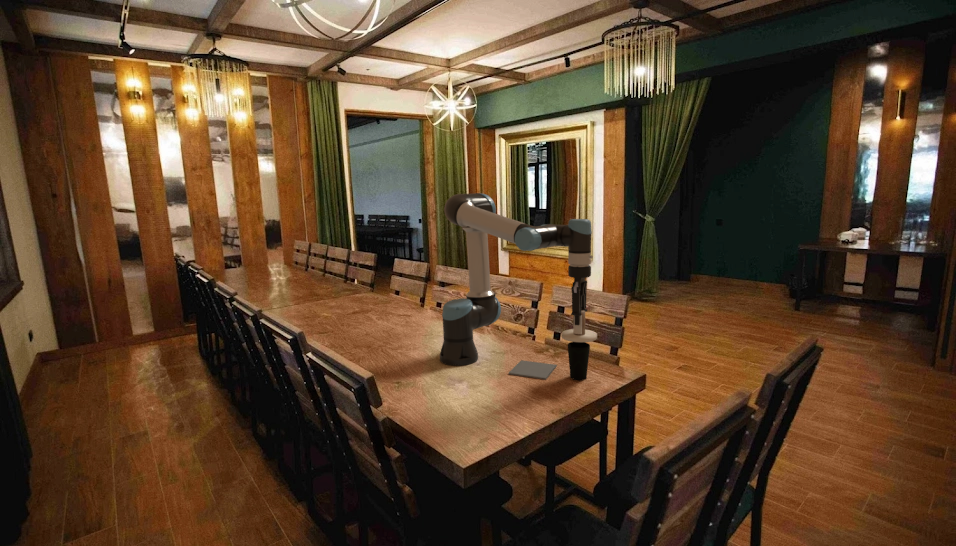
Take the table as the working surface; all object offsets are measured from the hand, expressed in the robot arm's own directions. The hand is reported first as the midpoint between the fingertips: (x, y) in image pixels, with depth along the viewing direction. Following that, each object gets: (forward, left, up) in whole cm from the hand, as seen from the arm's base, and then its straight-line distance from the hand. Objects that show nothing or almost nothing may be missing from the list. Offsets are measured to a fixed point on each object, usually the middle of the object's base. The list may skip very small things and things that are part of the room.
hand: (579, 331), depth 166 cm
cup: (0, 0, -17) cm, 17 cm away
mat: (-17, +1, -17) cm, 24 cm away
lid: (0, 0, -2) cm, 2 cm away
